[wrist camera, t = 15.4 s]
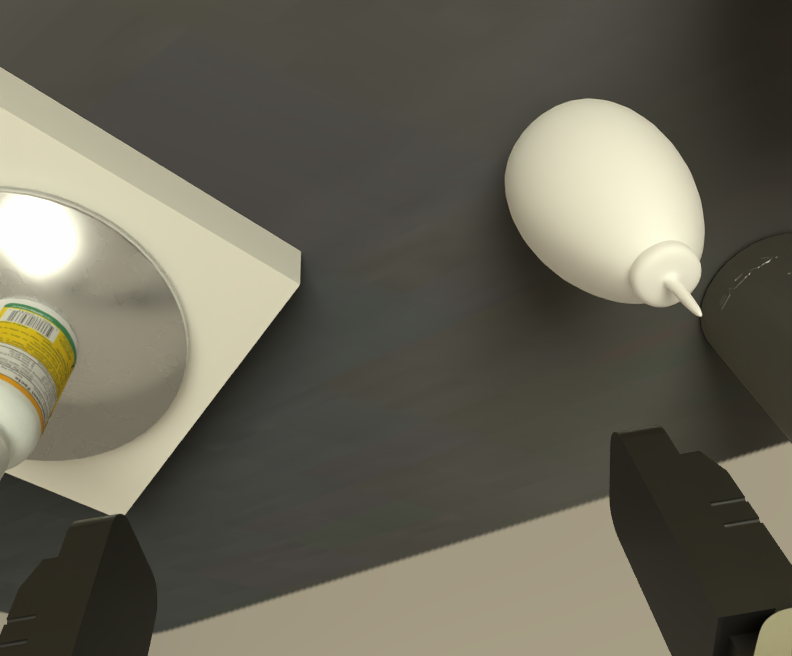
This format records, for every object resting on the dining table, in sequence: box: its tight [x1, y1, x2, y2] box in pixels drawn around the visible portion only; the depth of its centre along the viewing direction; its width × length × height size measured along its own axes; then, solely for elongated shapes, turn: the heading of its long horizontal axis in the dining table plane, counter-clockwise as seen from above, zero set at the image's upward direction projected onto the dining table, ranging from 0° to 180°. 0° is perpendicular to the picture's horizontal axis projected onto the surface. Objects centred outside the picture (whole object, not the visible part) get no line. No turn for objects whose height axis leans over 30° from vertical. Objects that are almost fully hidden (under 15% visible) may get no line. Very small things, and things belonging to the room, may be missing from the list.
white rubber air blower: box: [505, 98, 705, 317], centre depth 33 cm, size 8×8×18 cm
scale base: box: [0, 67, 301, 515], centre depth 41 cm, size 20×20×4 cm
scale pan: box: [0, 186, 189, 461], centre depth 39 cm, size 16×16×1 cm
